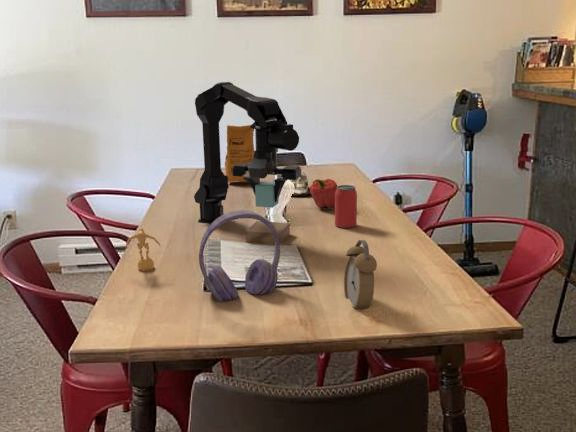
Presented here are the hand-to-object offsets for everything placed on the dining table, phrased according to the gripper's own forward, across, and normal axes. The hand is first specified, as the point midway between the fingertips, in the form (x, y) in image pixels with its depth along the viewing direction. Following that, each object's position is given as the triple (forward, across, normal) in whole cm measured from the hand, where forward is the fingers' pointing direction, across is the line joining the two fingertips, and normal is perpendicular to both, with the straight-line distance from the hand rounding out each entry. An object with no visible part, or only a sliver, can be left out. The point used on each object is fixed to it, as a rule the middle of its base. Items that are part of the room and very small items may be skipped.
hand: (267, 201), depth 178 cm
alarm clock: (+11, +35, -38) cm, 53 cm away
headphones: (+11, +9, -41) cm, 44 cm away
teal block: (+1, 0, 0) cm, 1 cm away
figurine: (+11, -20, -34) cm, 41 cm away
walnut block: (+12, 0, 0) cm, 12 cm away
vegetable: (+12, +6, +38) cm, 40 cm away
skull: (+13, -4, +56) cm, 58 cm away
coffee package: (+12, -37, +68) cm, 79 cm away
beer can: (+11, +18, +19) cm, 29 cm away
